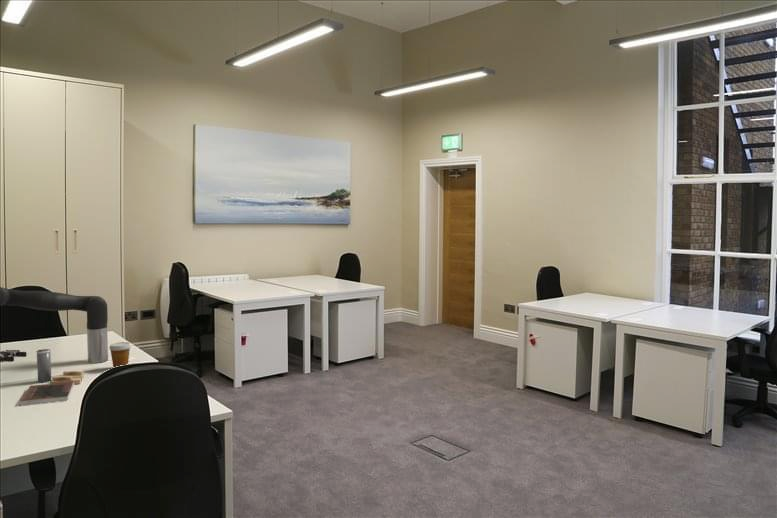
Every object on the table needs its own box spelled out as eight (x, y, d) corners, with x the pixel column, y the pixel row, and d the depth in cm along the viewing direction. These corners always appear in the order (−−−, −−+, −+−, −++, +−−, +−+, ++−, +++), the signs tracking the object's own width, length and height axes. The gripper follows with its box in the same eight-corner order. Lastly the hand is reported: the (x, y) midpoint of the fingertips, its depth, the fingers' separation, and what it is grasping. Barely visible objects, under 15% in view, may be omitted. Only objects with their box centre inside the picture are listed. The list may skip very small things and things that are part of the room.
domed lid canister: (39, 379, 251) (37, 349, 250) (52, 378, 253) (51, 348, 252) (36, 383, 246) (35, 352, 245) (50, 382, 248) (49, 351, 247)
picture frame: (67, 401, 224) (74, 386, 244) (67, 395, 224) (73, 381, 244) (19, 407, 218) (30, 391, 237) (19, 400, 218) (29, 385, 237)
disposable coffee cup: (107, 371, 266) (107, 346, 265) (112, 366, 275) (111, 342, 274) (129, 370, 268) (128, 345, 267) (132, 365, 277) (132, 341, 276)
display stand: (56, 379, 252) (56, 371, 252) (83, 377, 256) (83, 369, 256) (51, 387, 241) (50, 379, 241) (79, 384, 245) (79, 376, 245)
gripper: (-29, 351, 240) (9, 352, 240) (-6, 344, 254) (29, 344, 255) (-29, 368, 241) (9, 369, 241) (-6, 360, 255) (30, 360, 255)
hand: (19, 356), depth 248 cm, fingers open, 8 cm apart
